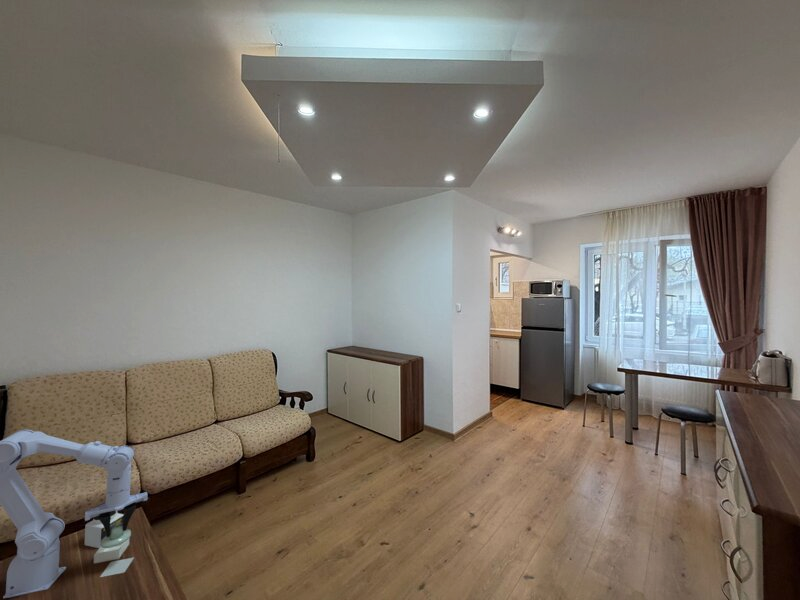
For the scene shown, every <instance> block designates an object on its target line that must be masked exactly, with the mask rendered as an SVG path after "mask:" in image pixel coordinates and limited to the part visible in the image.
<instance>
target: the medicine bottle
mask: <svg viewBox="0 0 800 600" xmlns="http://www.w3.org/2000/svg"><path fill="white" fill-rule="evenodd" d="M105 503H106V501H105V502H103V503H101V504H99V505H97V506H96V507H98V506H100V505H103V504H105ZM110 516H111V520H110V527H111V526H113V525H115V524H117V523H123V519H124V513H119V512H118V511H115V510H114V511H110ZM92 519H93V520H91V521H89V522H87V523H86V524H85V525H84V527H85V529H84V546H86V547H92V548H95V549H99V548H100V547H101V541H102V539H103V538H104V537H106V530H105V528H104V526H103V524H102V523H101V522H100V520H99V516H96V517H93V518H92Z"/></svg>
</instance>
